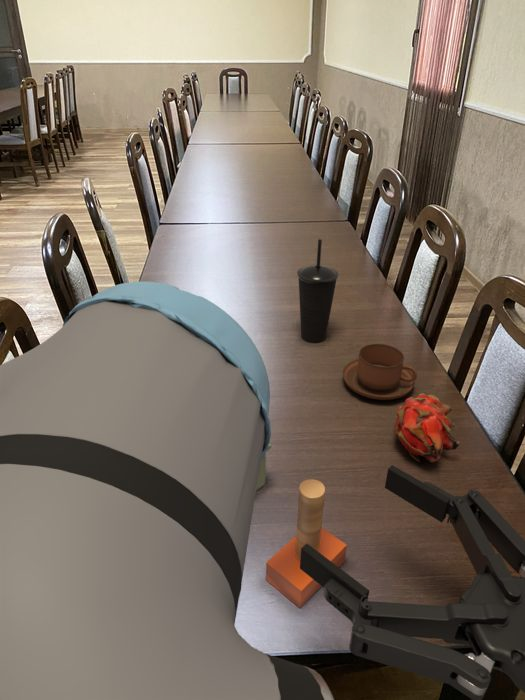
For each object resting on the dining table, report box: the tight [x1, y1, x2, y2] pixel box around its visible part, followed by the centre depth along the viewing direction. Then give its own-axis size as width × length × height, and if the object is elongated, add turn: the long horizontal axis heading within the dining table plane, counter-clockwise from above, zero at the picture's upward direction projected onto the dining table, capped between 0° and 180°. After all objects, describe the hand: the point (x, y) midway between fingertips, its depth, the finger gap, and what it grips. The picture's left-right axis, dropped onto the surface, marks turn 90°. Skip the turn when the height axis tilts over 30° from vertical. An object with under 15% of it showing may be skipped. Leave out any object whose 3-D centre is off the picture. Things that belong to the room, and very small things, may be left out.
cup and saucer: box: [342, 343, 418, 401], centre depth 91 cm, size 12×12×6 cm
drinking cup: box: [296, 238, 339, 344], centre depth 101 cm, size 8×8×20 cm
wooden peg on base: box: [265, 478, 348, 609], centre depth 57 cm, size 5×8×13 cm, turn 137°
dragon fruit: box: [393, 392, 461, 464], centre depth 77 cm, size 8×8×12 cm
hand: (348, 512), depth 51 cm, fingers open, 13 cm apart
